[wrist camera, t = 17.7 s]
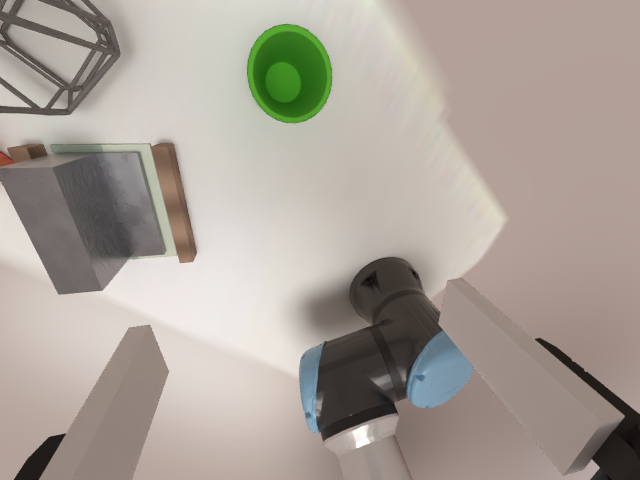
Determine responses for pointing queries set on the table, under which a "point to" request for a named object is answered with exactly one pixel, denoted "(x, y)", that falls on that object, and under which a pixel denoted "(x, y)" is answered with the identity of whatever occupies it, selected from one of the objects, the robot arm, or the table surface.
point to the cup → (289, 73)
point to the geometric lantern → (111, 48)
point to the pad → (151, 177)
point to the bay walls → (169, 186)
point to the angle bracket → (85, 214)
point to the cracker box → (5, 160)
